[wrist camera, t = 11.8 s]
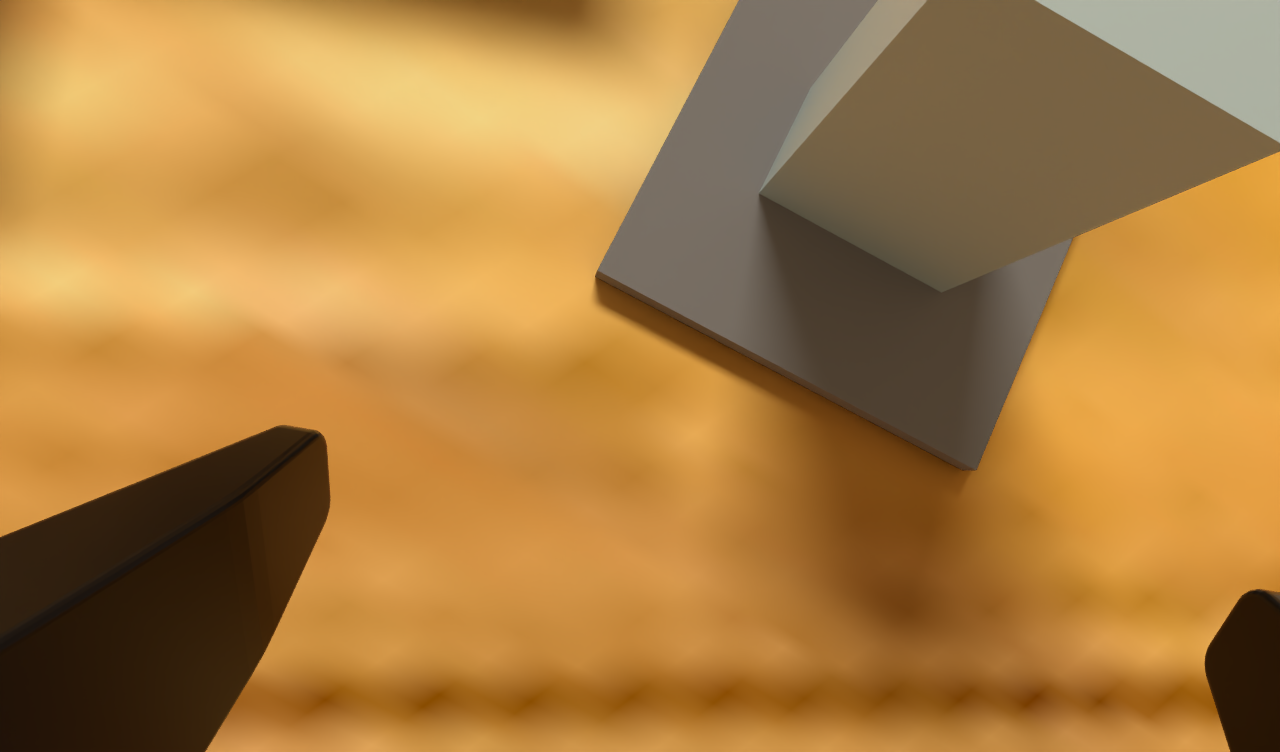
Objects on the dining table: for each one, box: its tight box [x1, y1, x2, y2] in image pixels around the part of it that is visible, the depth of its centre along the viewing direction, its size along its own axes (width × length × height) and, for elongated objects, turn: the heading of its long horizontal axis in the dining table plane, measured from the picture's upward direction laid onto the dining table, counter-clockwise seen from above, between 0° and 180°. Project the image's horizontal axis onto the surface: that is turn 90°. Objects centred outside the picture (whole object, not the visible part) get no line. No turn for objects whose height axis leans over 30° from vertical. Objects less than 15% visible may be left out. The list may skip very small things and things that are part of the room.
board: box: [759, 0, 1280, 293], centre depth 15 cm, size 3×5×9 cm, turn 63°
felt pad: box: [595, 0, 1073, 470], centre depth 20 cm, size 10×10×1 cm
